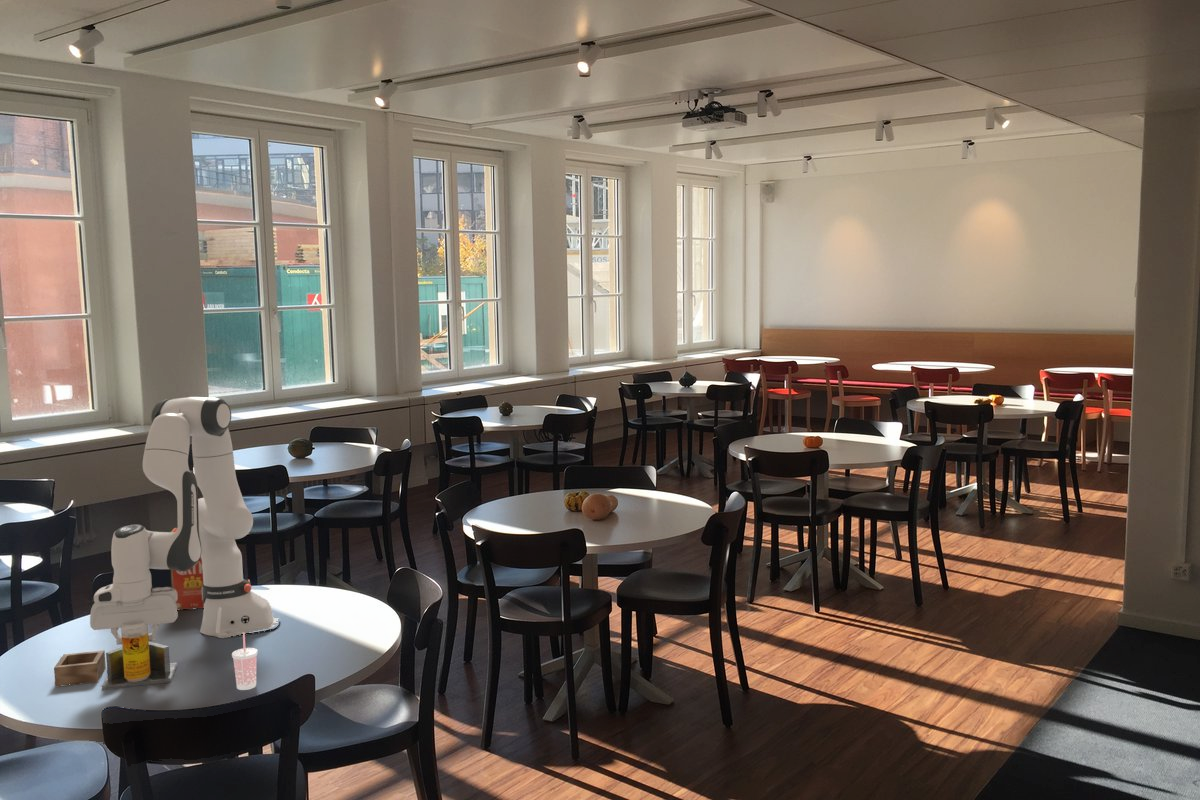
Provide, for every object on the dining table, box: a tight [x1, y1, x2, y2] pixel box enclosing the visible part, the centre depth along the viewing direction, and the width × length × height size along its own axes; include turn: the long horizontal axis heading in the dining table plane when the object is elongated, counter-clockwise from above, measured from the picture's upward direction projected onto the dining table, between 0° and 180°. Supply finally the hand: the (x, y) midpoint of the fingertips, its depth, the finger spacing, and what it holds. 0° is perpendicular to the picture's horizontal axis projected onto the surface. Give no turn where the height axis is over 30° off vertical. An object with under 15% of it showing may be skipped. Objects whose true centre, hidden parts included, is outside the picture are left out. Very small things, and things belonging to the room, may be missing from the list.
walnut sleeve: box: [53, 649, 107, 687], centre depth 254 cm, size 10×10×5 cm
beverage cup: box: [231, 633, 259, 691], centre depth 246 cm, size 6×6×14 cm
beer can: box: [120, 622, 151, 682], centre depth 250 cm, size 6×6×15 cm
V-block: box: [101, 641, 178, 690], centre depth 253 cm, size 16×12×8 cm
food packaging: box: [169, 527, 204, 611], centre depth 313 cm, size 13×9×25 cm
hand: (136, 642), depth 251 cm, fingers open, 6 cm apart
